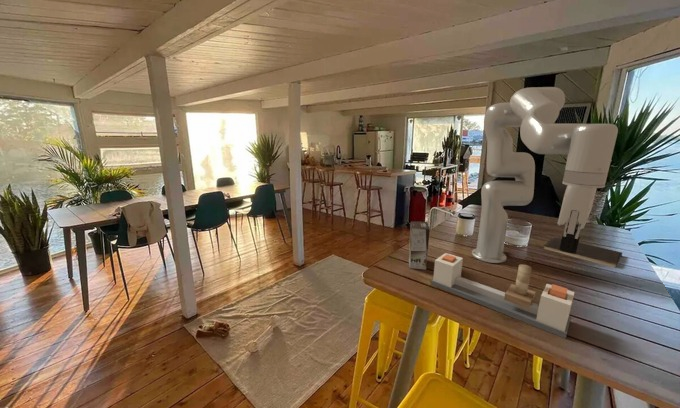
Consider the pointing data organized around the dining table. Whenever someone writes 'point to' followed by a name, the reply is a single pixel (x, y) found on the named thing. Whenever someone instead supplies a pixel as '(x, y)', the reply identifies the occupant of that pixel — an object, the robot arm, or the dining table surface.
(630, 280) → the dining table surface
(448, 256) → the block
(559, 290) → the block
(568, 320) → the rail base
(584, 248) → the hardcover book
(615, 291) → the dining table surface
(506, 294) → the carriage
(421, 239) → the coffee box
